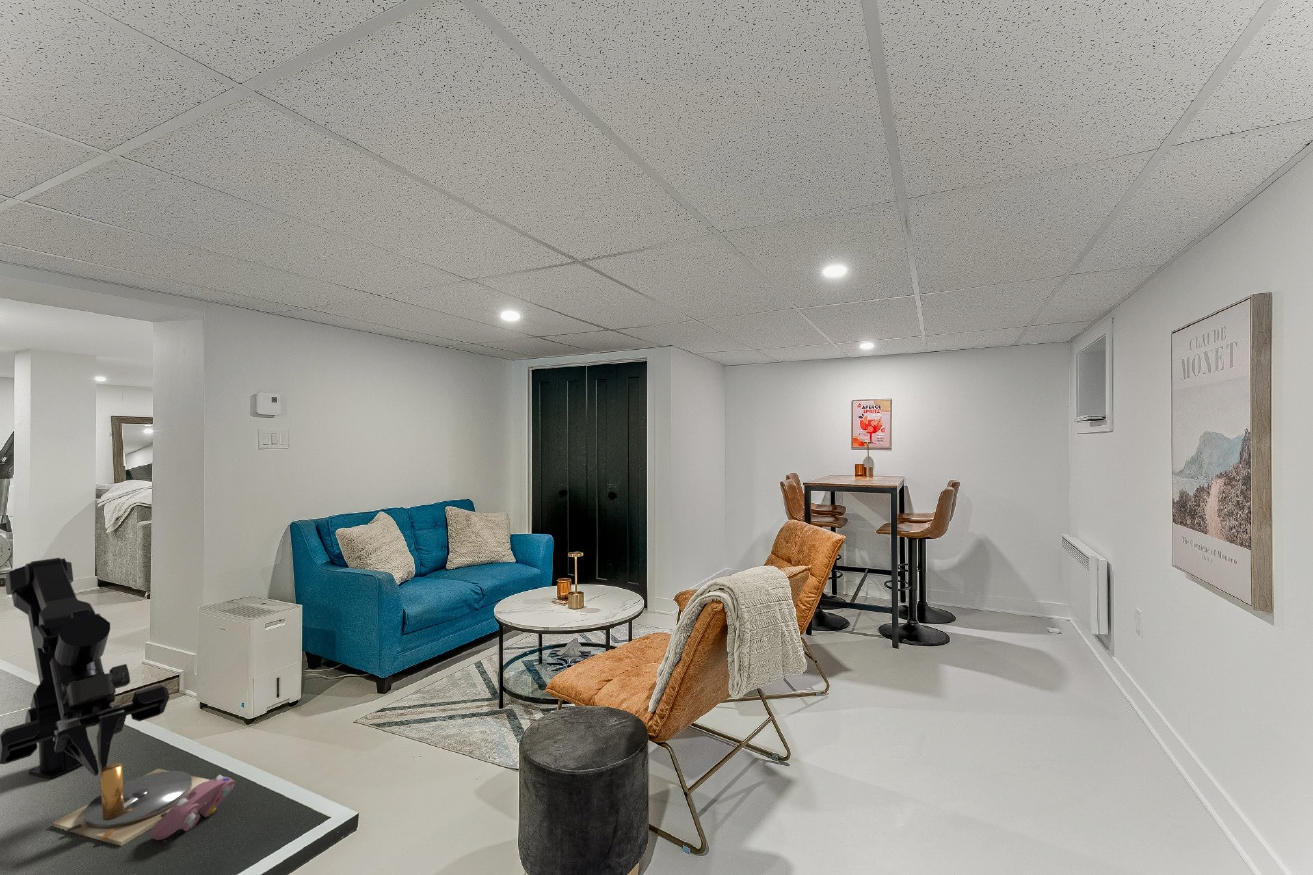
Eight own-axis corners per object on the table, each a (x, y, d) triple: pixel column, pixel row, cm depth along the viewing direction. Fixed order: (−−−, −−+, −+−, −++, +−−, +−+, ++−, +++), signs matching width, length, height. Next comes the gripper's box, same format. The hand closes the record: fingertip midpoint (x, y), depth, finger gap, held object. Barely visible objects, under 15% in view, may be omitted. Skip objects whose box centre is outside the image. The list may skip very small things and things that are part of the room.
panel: (46, 829, 89) (45, 824, 89) (158, 772, 104) (158, 767, 104) (119, 850, 85) (118, 844, 85) (225, 786, 99) (225, 782, 99)
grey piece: (66, 838, 86) (64, 781, 86) (107, 788, 98) (104, 738, 98) (176, 814, 91) (174, 760, 91) (202, 769, 103) (200, 722, 103)
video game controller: (168, 855, 86) (185, 814, 85) (144, 838, 86) (161, 797, 86) (230, 811, 95) (245, 774, 95) (208, 796, 96) (223, 759, 95)
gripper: (-4, 674, 85) (12, 779, 78) (163, 635, 100) (188, 720, 93) (-9, 714, 90) (6, 815, 83) (151, 671, 105) (174, 754, 98)
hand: (100, 773), depth 89 cm, fingers closed
